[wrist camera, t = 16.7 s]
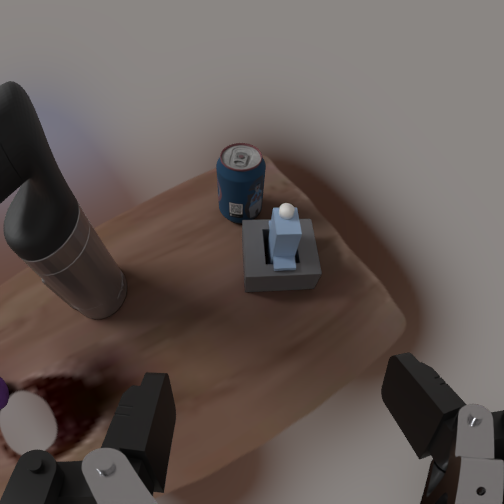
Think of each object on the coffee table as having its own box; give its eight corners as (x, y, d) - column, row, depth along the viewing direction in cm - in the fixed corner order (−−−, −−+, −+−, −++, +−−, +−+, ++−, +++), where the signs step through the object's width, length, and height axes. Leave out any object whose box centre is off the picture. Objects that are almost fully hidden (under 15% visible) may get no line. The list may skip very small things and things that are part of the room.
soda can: (225, 191, 52) (223, 137, 42) (264, 198, 52) (270, 144, 41) (214, 222, 49) (209, 168, 38) (256, 230, 48) (261, 176, 38)
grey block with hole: (244, 292, 42) (245, 277, 38) (242, 238, 47) (242, 220, 43) (313, 288, 43) (321, 273, 39) (304, 237, 48) (310, 218, 44)
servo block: (290, 286, 43) (305, 242, 33) (269, 287, 43) (279, 243, 33) (284, 241, 47) (296, 191, 37) (265, 242, 47) (272, 191, 37)
